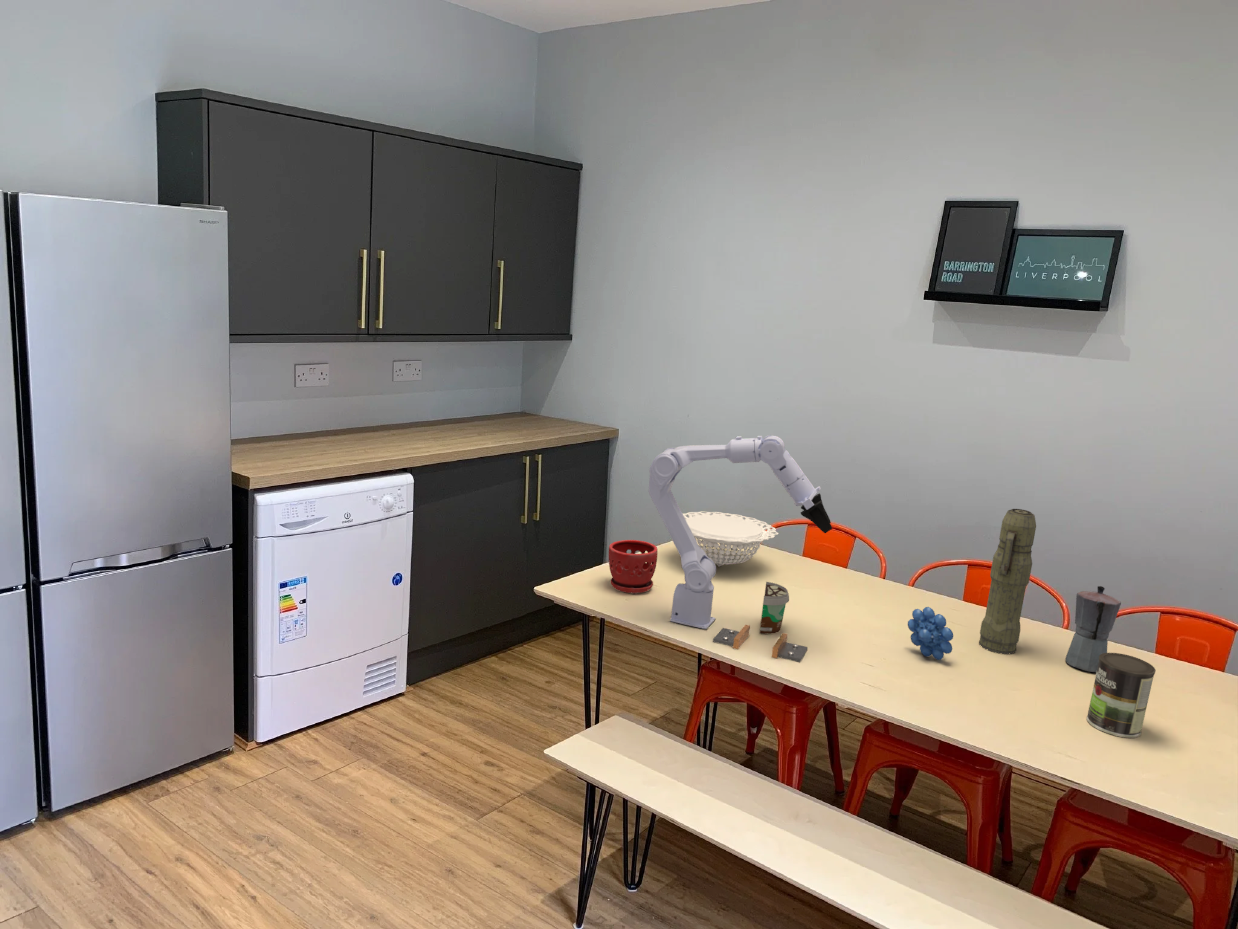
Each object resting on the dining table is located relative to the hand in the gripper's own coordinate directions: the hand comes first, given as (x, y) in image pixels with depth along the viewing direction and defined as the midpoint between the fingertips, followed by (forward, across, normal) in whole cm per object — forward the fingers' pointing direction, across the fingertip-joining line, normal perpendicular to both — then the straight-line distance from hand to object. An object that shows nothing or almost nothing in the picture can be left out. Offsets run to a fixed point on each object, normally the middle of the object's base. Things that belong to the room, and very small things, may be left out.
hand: (827, 527), depth 216 cm
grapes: (+39, +3, 0) cm, 39 cm away
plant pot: (-12, +22, +54) cm, 60 cm away
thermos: (+51, +17, -16) cm, 56 cm away
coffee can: (+63, -20, -25) cm, 71 cm away
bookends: (+14, -5, +29) cm, 32 cm away
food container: (+15, +8, +26) cm, 31 cm away
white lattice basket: (+1, +52, +37) cm, 64 cm away
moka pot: (+64, +12, -30) cm, 72 cm away
